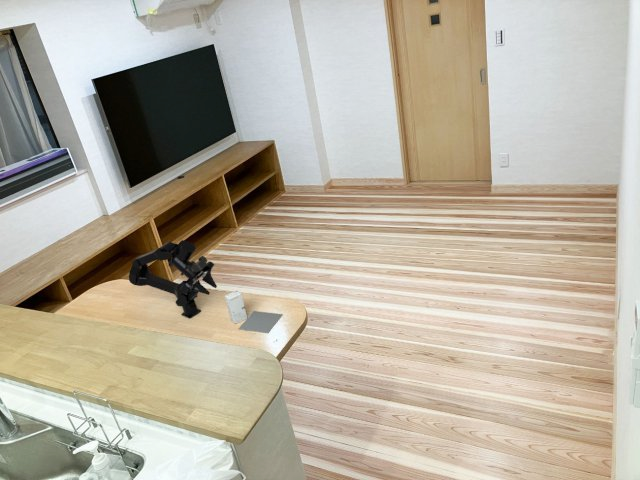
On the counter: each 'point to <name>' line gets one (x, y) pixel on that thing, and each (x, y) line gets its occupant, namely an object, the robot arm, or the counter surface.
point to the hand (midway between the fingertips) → (213, 290)
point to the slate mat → (260, 322)
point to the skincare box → (236, 307)
